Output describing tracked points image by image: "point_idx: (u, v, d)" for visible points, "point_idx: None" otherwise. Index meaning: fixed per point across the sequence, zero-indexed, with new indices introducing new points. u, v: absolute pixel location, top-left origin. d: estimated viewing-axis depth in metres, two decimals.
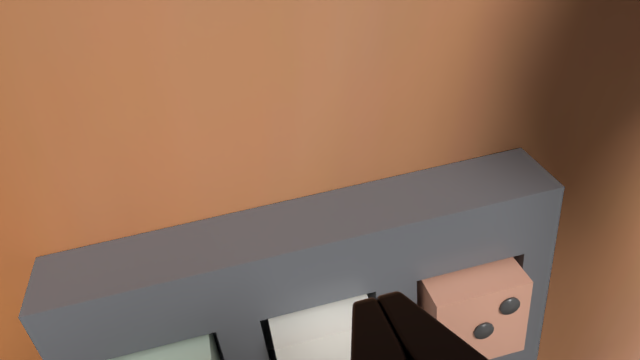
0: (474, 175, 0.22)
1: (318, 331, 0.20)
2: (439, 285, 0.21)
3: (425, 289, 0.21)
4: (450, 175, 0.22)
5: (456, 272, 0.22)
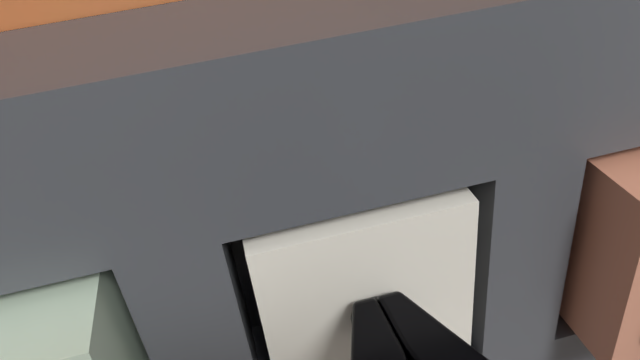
0: None
1: (345, 220, 0.09)
2: (637, 170, 0.09)
3: (602, 180, 0.09)
4: None
5: None
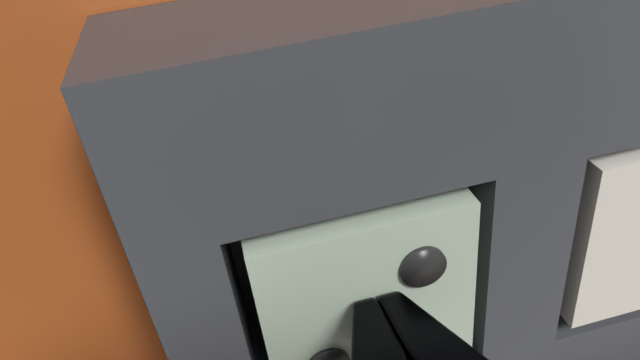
0: None
1: None
2: None
3: None
4: None
5: None
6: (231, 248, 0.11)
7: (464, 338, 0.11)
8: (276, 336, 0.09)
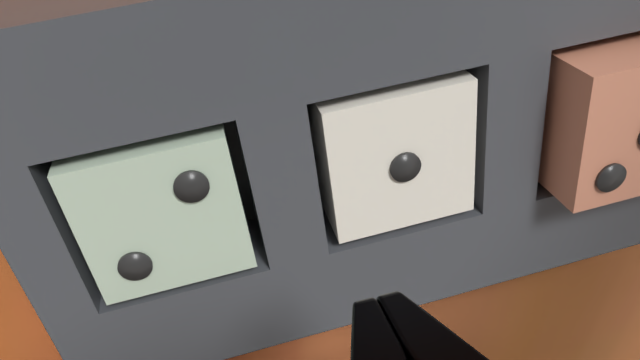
0: None
1: (386, 93, 0.13)
2: (587, 58, 0.13)
3: (563, 67, 0.14)
4: None
5: (608, 45, 0.14)
6: None
7: (245, 247, 0.14)
8: (87, 239, 0.13)
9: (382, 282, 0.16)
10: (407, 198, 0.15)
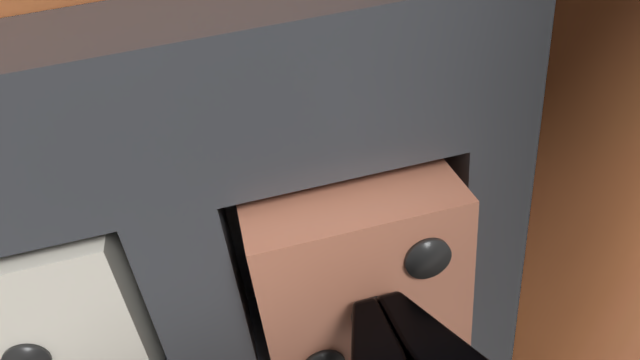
0: None
1: None
2: (269, 212, 0.09)
3: (240, 222, 0.10)
4: None
5: (315, 187, 0.10)
6: None
7: None
8: None
9: None
10: None
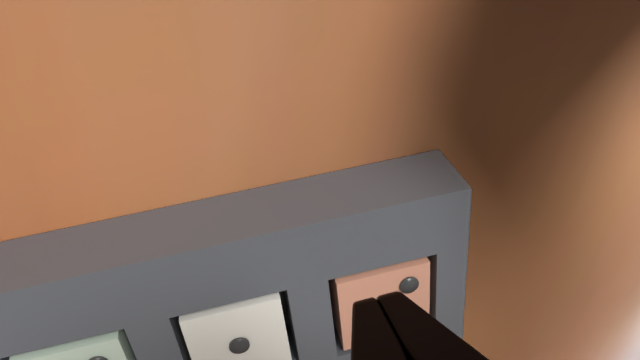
0: (387, 176, 0.22)
1: (222, 306, 0.21)
2: None
3: None
4: (364, 176, 0.22)
5: None
6: None
7: None
8: None
9: None
10: None
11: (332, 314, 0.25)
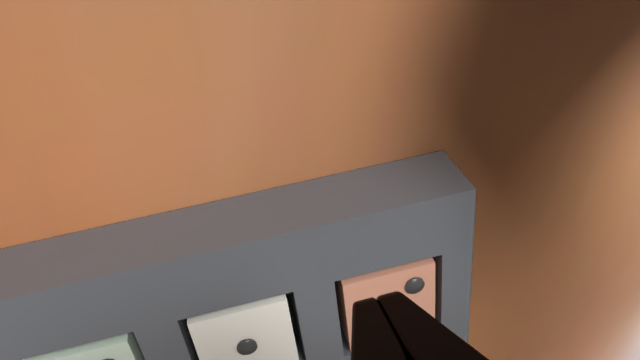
0: (392, 177, 0.22)
1: (230, 308, 0.21)
2: None
3: None
4: (369, 177, 0.22)
5: None
6: None
7: None
8: None
9: None
10: None
11: None
